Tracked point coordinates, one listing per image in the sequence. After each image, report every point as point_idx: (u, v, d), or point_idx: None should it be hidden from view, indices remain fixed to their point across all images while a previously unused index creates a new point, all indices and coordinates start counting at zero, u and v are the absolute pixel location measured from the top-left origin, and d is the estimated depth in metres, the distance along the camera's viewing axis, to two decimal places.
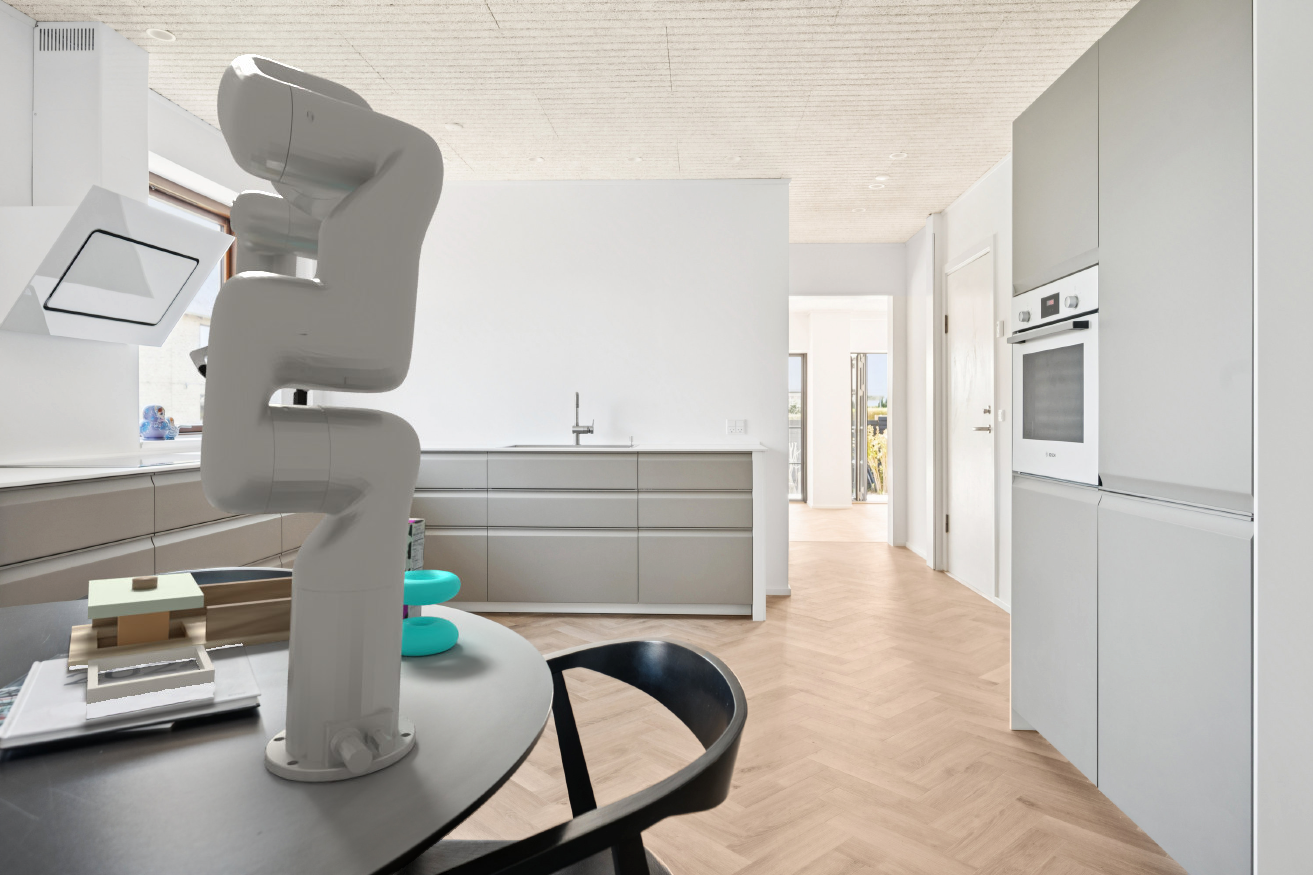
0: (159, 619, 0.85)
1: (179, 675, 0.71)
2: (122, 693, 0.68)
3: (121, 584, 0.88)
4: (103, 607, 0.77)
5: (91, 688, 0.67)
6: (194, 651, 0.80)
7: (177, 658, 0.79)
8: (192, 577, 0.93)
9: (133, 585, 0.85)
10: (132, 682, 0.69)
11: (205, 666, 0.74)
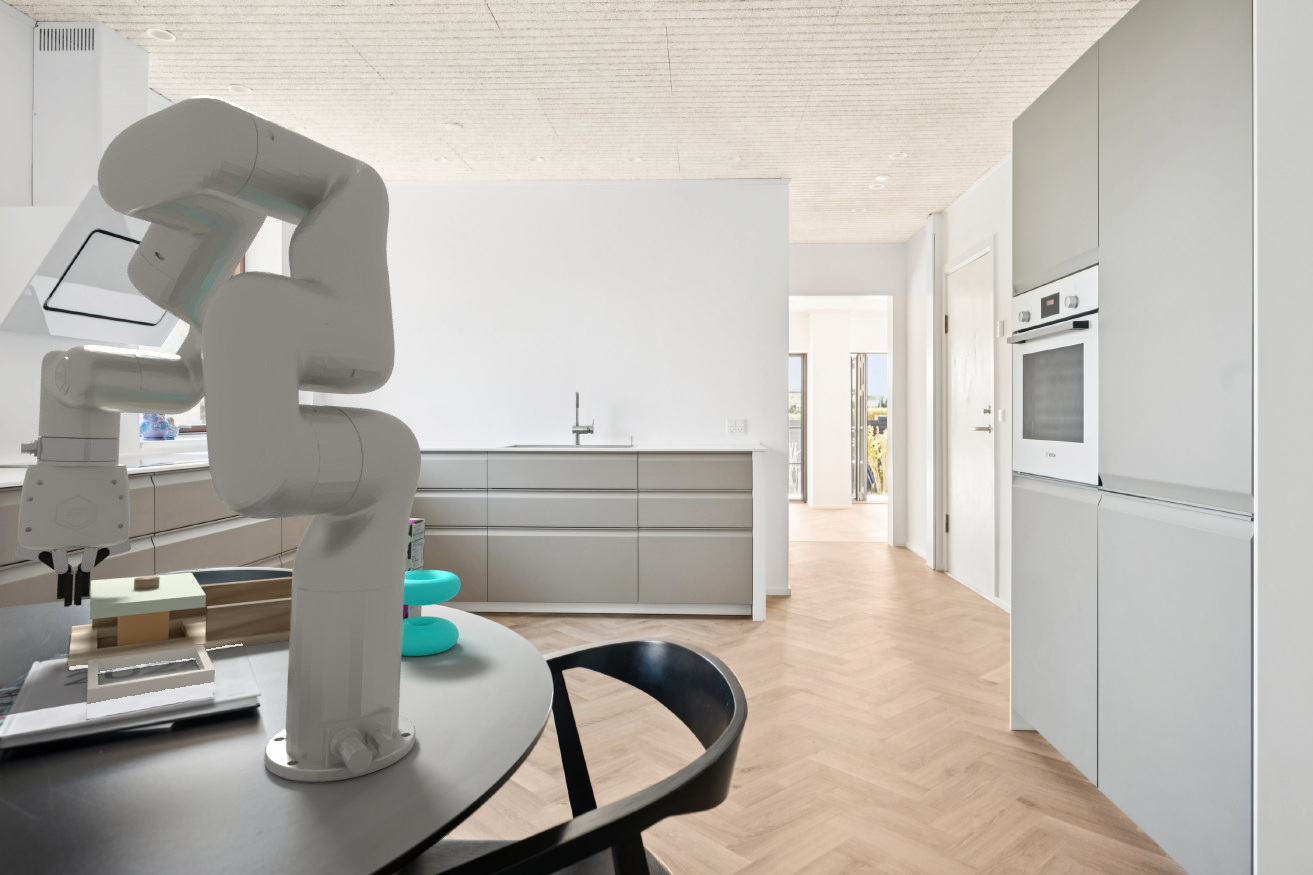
0: (159, 619, 0.85)
1: (179, 675, 0.71)
2: (122, 693, 0.68)
3: (123, 584, 0.88)
4: (105, 607, 0.78)
5: (91, 688, 0.67)
6: (194, 651, 0.80)
7: (177, 658, 0.79)
8: (194, 577, 0.93)
9: (135, 585, 0.85)
10: (132, 682, 0.69)
11: (205, 666, 0.74)
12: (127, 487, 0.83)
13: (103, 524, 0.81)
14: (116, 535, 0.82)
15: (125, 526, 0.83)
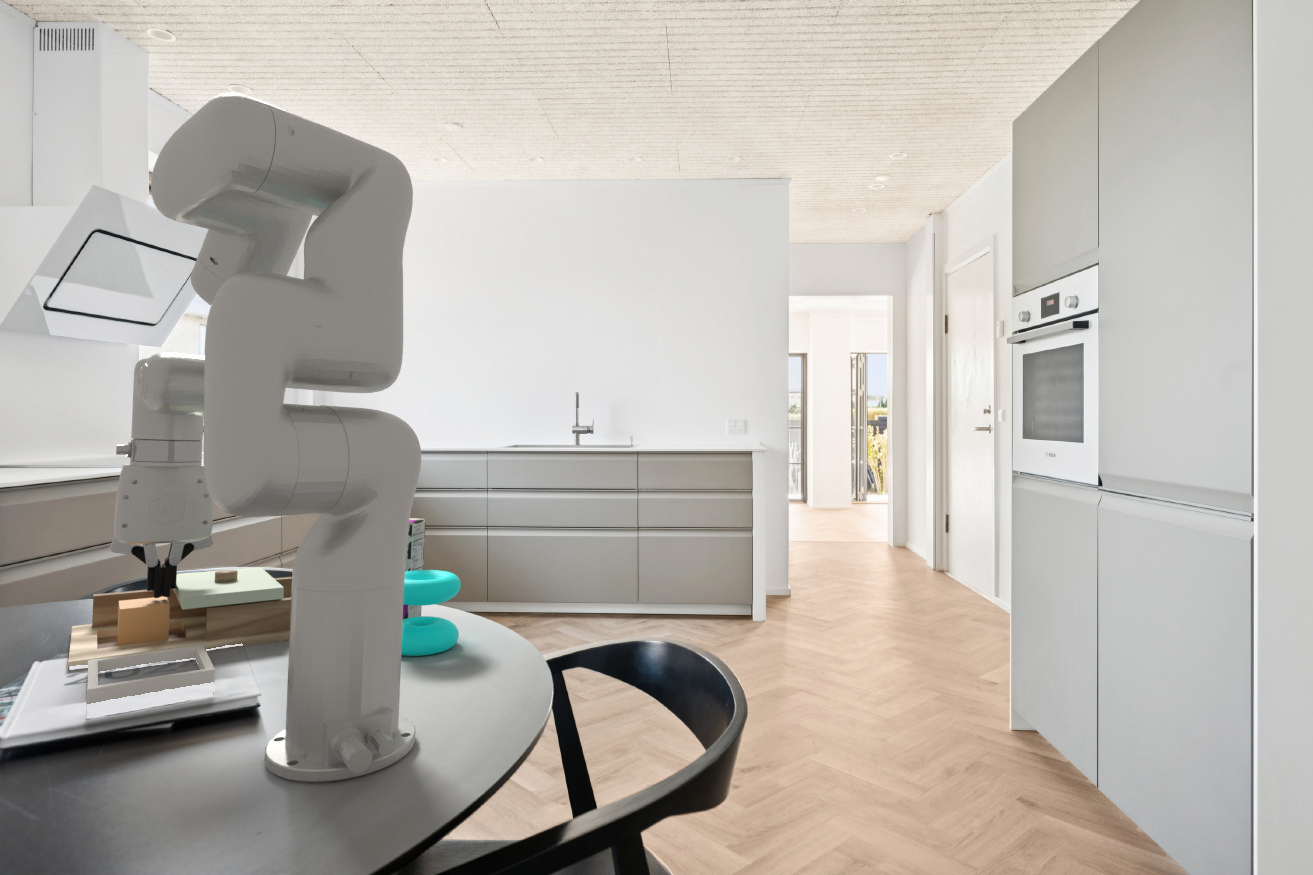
0: (159, 619, 0.85)
1: (179, 675, 0.71)
2: (122, 693, 0.68)
3: (203, 577, 0.93)
4: (195, 598, 0.83)
5: (91, 688, 0.67)
6: (194, 651, 0.80)
7: (177, 658, 0.79)
8: (265, 571, 0.99)
9: (216, 578, 0.91)
10: (132, 682, 0.69)
11: (205, 666, 0.74)
12: None
13: (190, 521, 0.87)
14: (201, 531, 0.88)
15: (209, 523, 0.88)
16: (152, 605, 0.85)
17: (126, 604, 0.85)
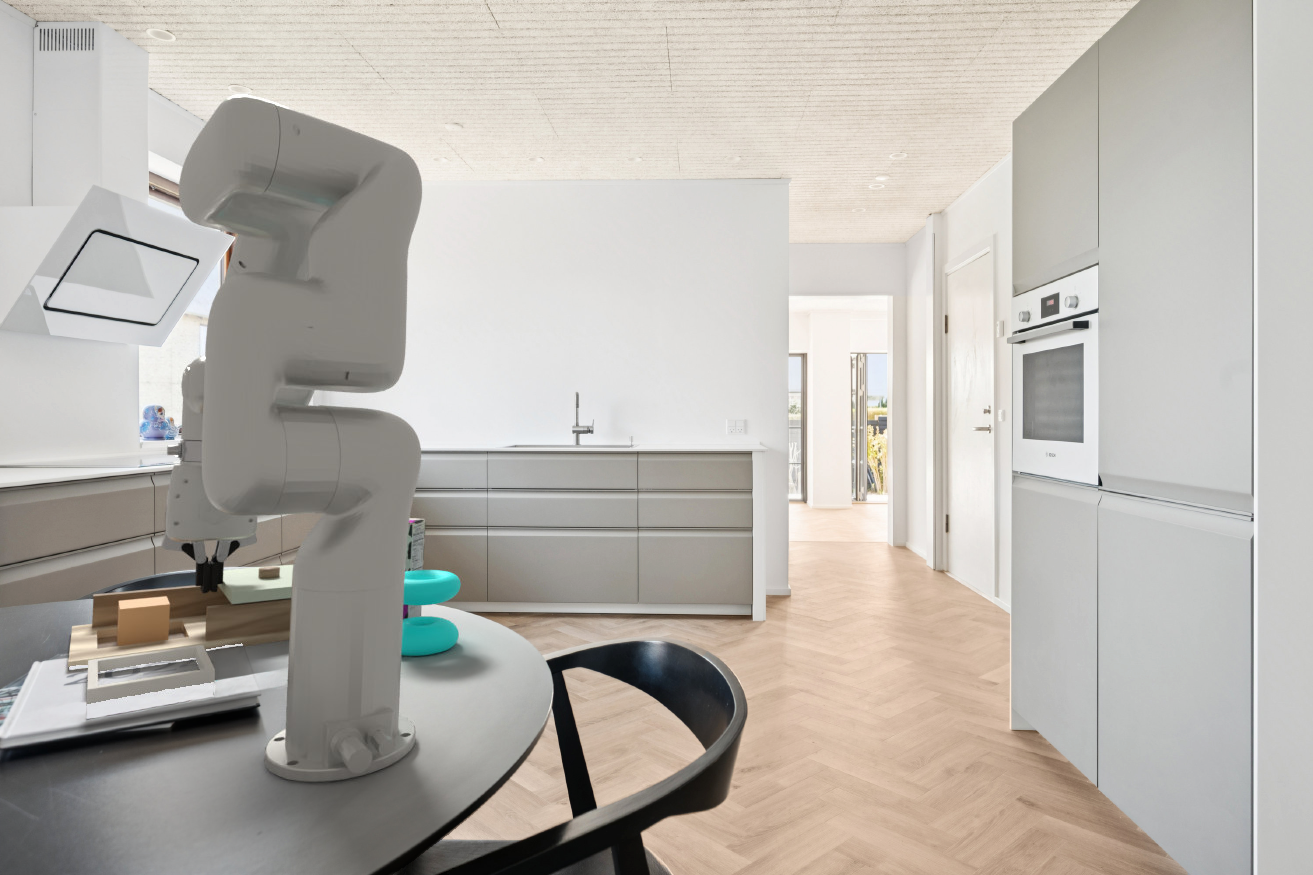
0: (159, 619, 0.85)
1: (179, 675, 0.71)
2: (122, 693, 0.68)
3: (246, 574, 0.96)
4: (244, 593, 0.86)
5: (91, 688, 0.67)
6: (194, 651, 0.80)
7: (177, 658, 0.79)
8: None
9: (260, 574, 0.94)
10: (132, 682, 0.69)
11: (205, 666, 0.74)
12: None
13: (236, 519, 0.90)
14: (247, 529, 0.91)
15: (254, 521, 0.92)
16: (152, 605, 0.85)
17: (126, 604, 0.85)
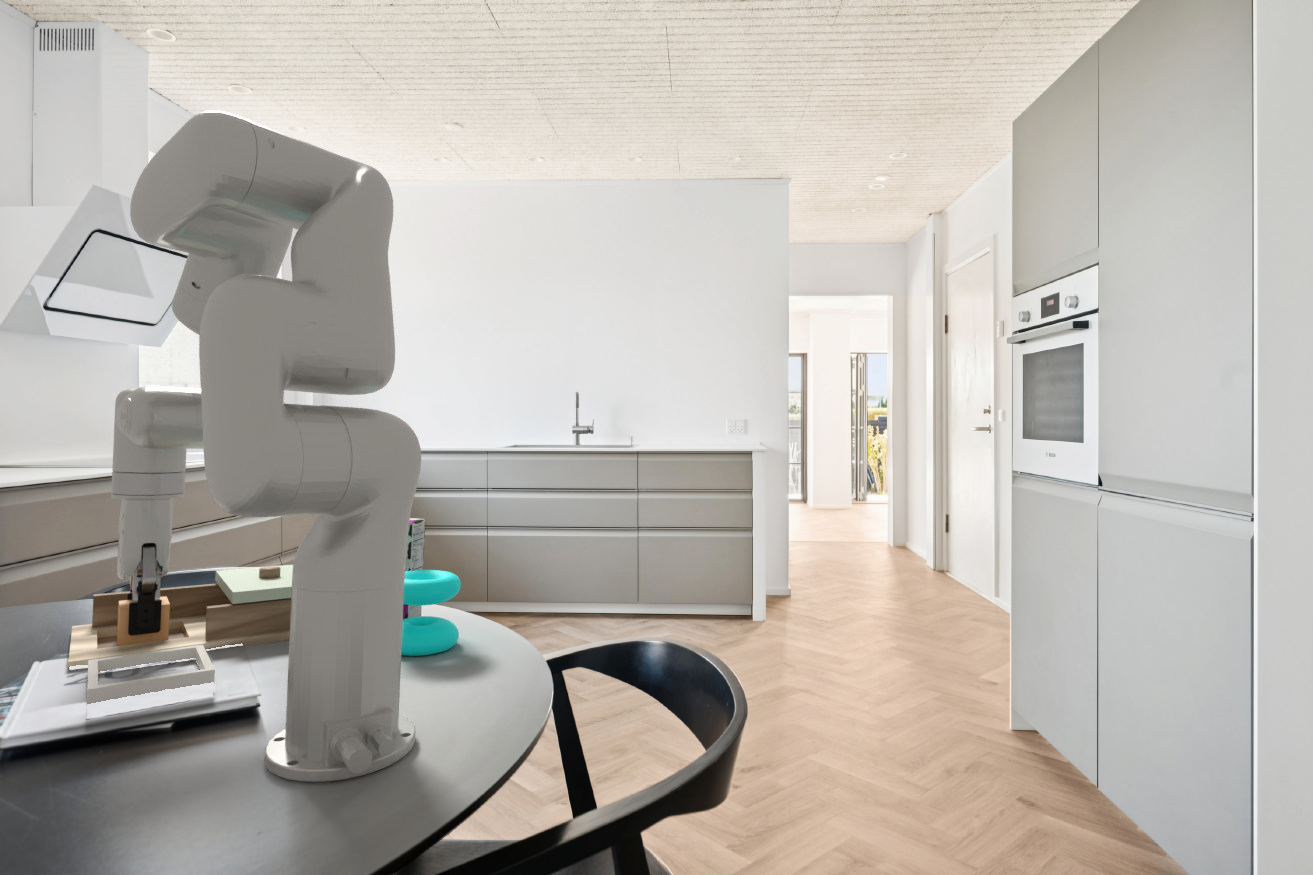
0: None
1: (179, 675, 0.71)
2: (122, 693, 0.68)
3: (246, 574, 0.97)
4: (244, 593, 0.87)
5: (91, 688, 0.67)
6: (194, 651, 0.80)
7: (177, 658, 0.79)
8: None
9: (260, 574, 0.94)
10: (132, 682, 0.69)
11: (205, 666, 0.74)
12: (130, 523, 0.82)
13: (119, 557, 0.83)
14: (119, 570, 0.82)
15: (121, 562, 0.81)
16: None
17: (126, 604, 0.85)
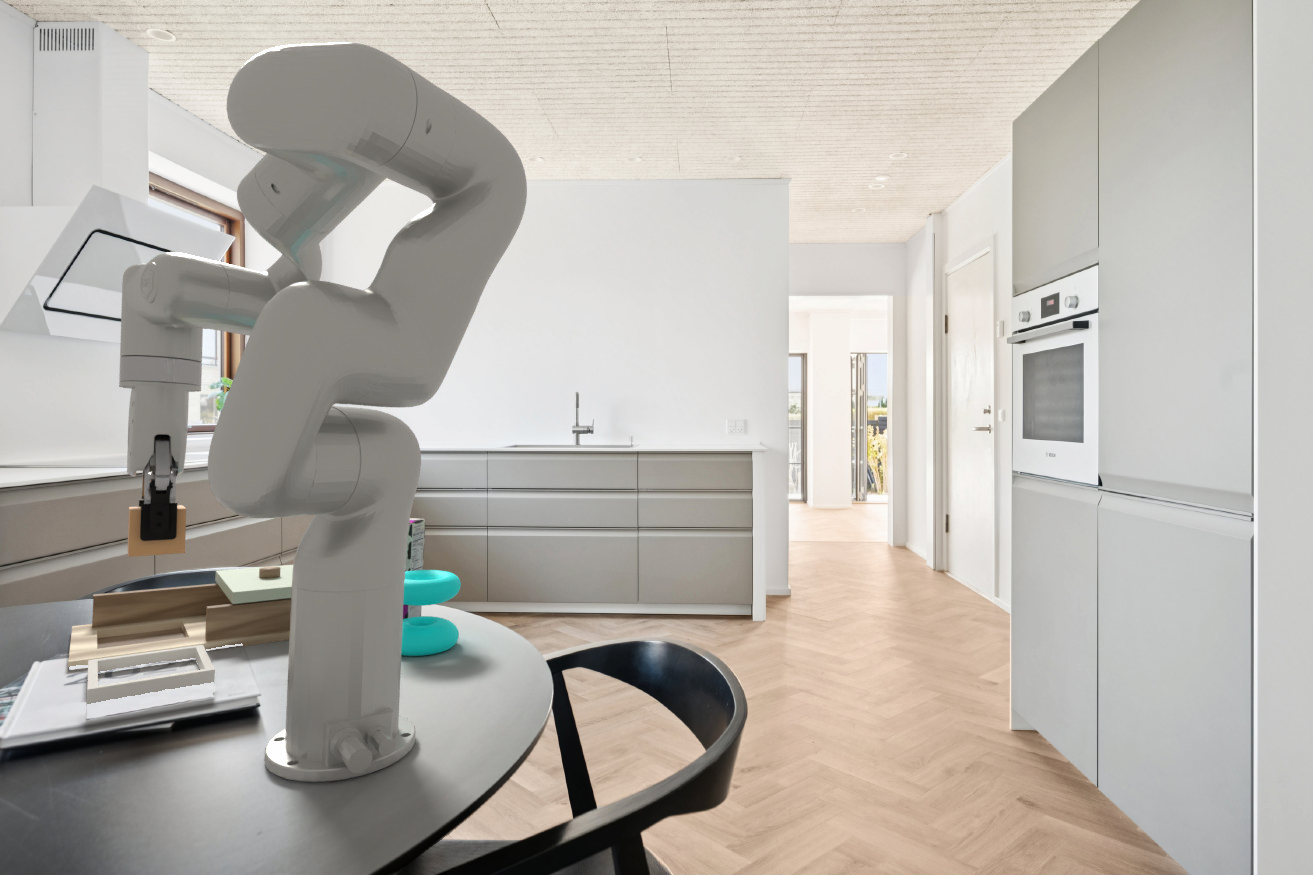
0: None
1: (179, 675, 0.71)
2: (122, 693, 0.68)
3: (246, 574, 0.97)
4: (244, 593, 0.87)
5: (91, 688, 0.67)
6: (194, 651, 0.80)
7: (177, 658, 0.79)
8: None
9: (260, 574, 0.94)
10: (132, 682, 0.69)
11: (205, 666, 0.74)
12: (140, 410, 0.72)
13: (128, 451, 0.73)
14: (129, 464, 0.72)
15: (131, 455, 0.71)
16: None
17: (137, 508, 0.75)
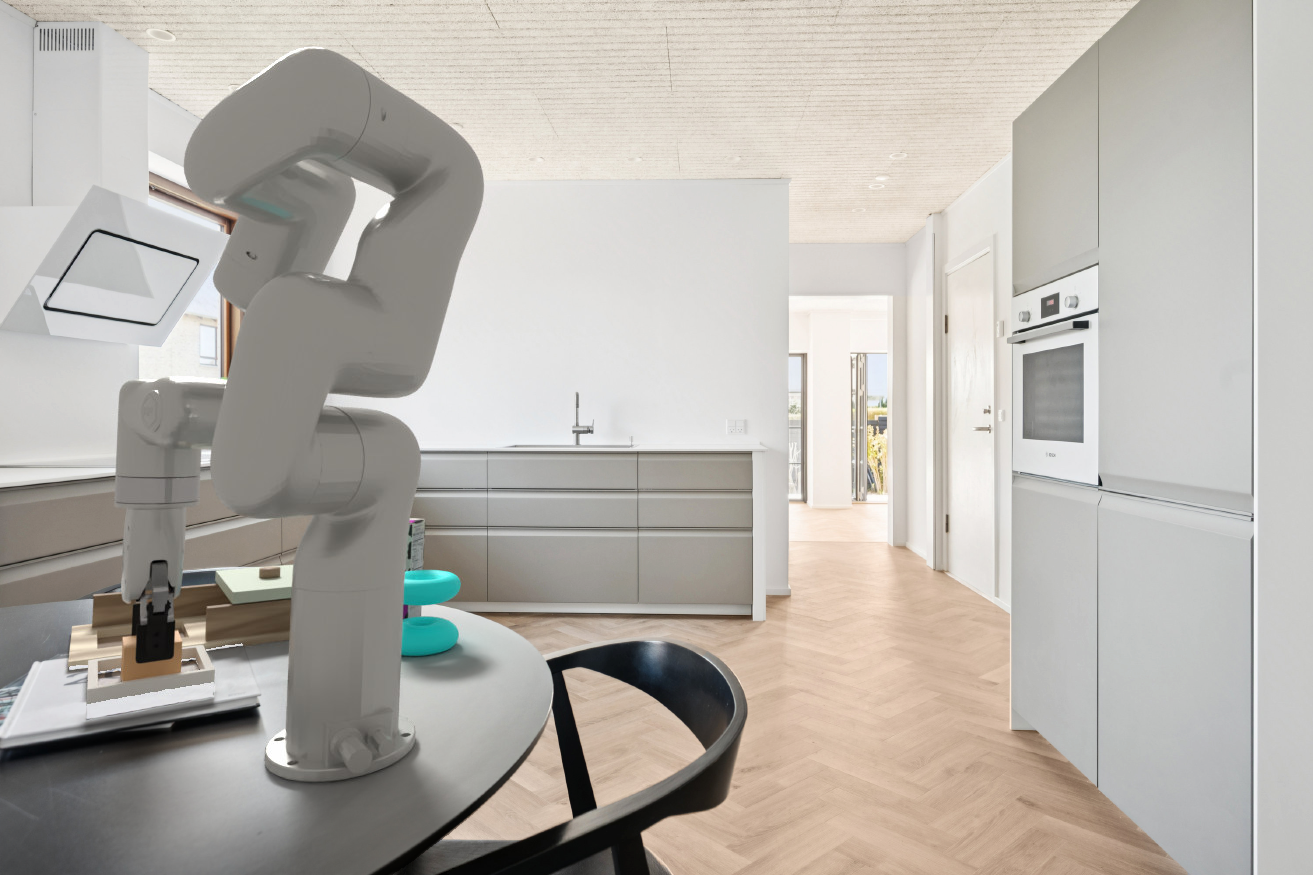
0: (169, 659, 0.73)
1: (179, 675, 0.71)
2: (122, 693, 0.68)
3: (246, 574, 0.97)
4: (244, 593, 0.87)
5: (91, 688, 0.67)
6: (194, 651, 0.80)
7: None
8: None
9: (260, 574, 0.94)
10: (132, 682, 0.69)
11: (205, 666, 0.74)
12: (136, 536, 0.69)
13: (123, 576, 0.70)
14: (123, 592, 0.69)
15: (126, 583, 0.69)
16: None
17: (131, 642, 0.73)
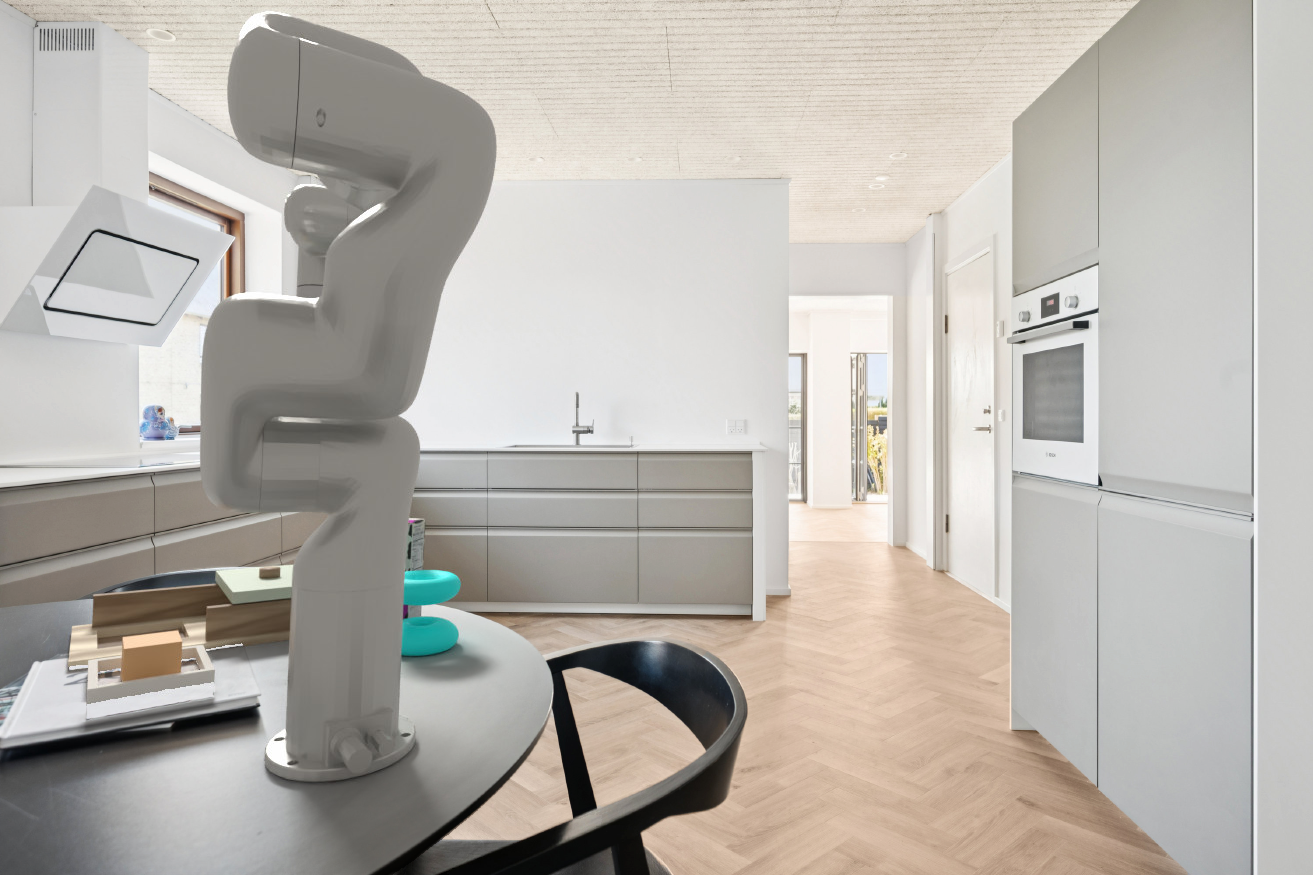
0: (169, 659, 0.73)
1: (179, 675, 0.71)
2: (122, 693, 0.68)
3: (246, 574, 0.97)
4: (244, 593, 0.87)
5: (91, 688, 0.67)
6: (194, 651, 0.80)
7: None
8: None
9: (260, 574, 0.94)
10: (132, 682, 0.69)
11: (205, 666, 0.74)
12: None
13: None
14: None
15: None
16: (162, 643, 0.73)
17: (131, 642, 0.73)
